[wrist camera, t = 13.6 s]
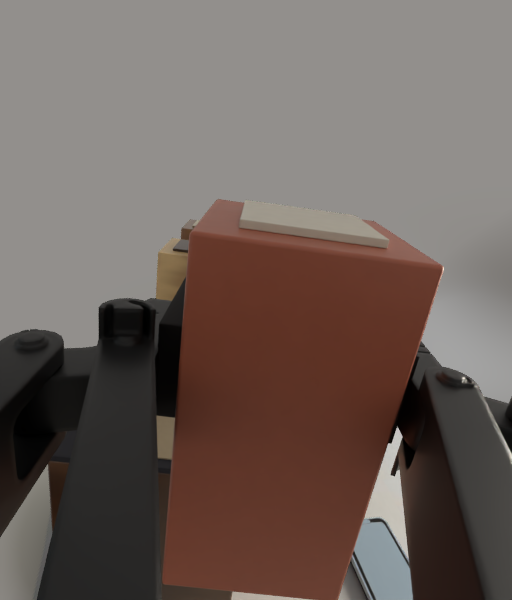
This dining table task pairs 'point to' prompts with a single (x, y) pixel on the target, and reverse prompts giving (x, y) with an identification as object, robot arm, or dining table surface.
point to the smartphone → (381, 562)
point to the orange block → (287, 393)
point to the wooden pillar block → (171, 268)
